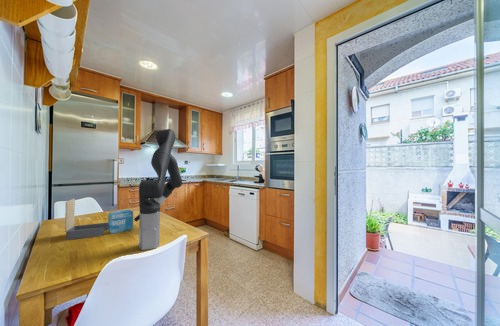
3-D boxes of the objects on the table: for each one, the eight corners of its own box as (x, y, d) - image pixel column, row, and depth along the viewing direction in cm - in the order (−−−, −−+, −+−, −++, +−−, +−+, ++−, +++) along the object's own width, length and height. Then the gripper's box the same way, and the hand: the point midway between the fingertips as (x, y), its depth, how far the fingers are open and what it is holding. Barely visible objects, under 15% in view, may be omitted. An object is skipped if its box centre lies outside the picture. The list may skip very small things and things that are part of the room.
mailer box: (103, 235, 106) (104, 199, 107) (64, 240, 99) (65, 201, 99) (108, 229, 115) (108, 196, 116) (72, 233, 108) (73, 198, 108)
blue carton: (109, 234, 108) (110, 213, 108) (107, 232, 111) (108, 212, 111) (133, 229, 117) (133, 210, 117) (130, 227, 120) (131, 209, 120)
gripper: (153, 194, 128) (131, 214, 122) (152, 197, 116) (128, 219, 110) (161, 201, 130) (140, 221, 125) (161, 205, 118) (138, 227, 113)
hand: (135, 220), depth 117 cm, fingers closed
